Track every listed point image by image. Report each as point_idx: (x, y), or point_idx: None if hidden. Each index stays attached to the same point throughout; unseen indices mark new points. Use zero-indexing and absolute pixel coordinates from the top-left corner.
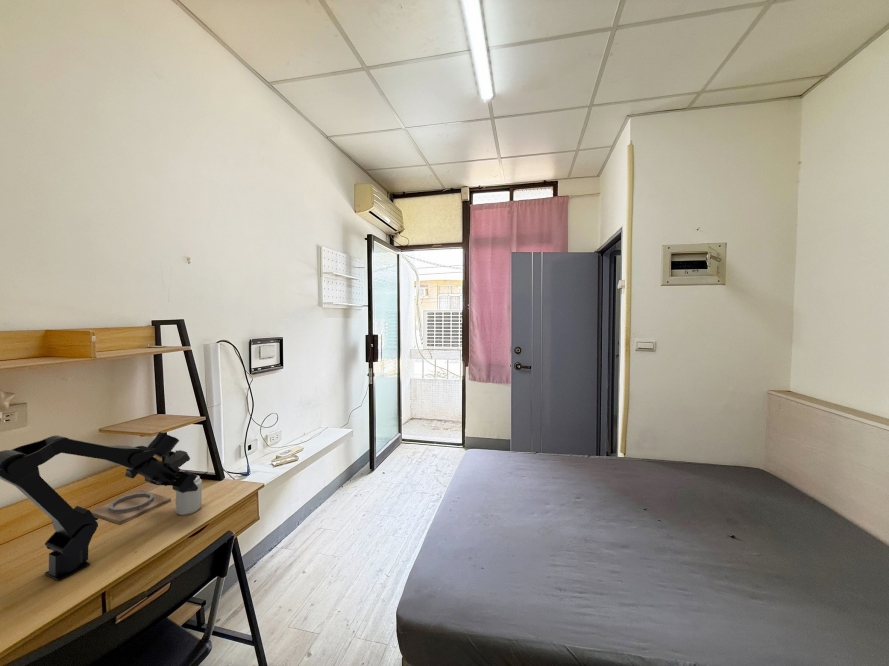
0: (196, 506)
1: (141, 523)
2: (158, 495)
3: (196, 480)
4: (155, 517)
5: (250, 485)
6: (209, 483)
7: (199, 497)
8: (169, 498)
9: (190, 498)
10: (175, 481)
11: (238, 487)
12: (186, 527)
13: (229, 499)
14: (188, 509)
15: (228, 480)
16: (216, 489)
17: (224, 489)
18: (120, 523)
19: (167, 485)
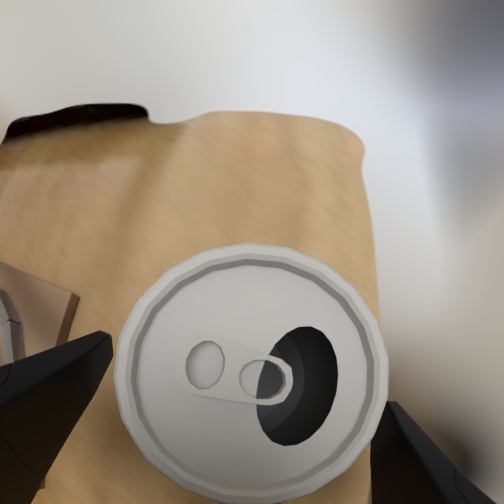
0: (309, 387)
1: (109, 493)
2: (15, 273)
3: (381, 374)
4: (123, 450)
5: (339, 136)
6: (154, 138)
7: (323, 361)
8: (67, 296)
9: (314, 430)
10: (73, 384)
11: (306, 149)
12: (354, 491)
13: (358, 241)
14: (288, 425)
15: (218, 112)
16: (221, 170)
17: (259, 166)
18: (41, 487)
19: (58, 449)
